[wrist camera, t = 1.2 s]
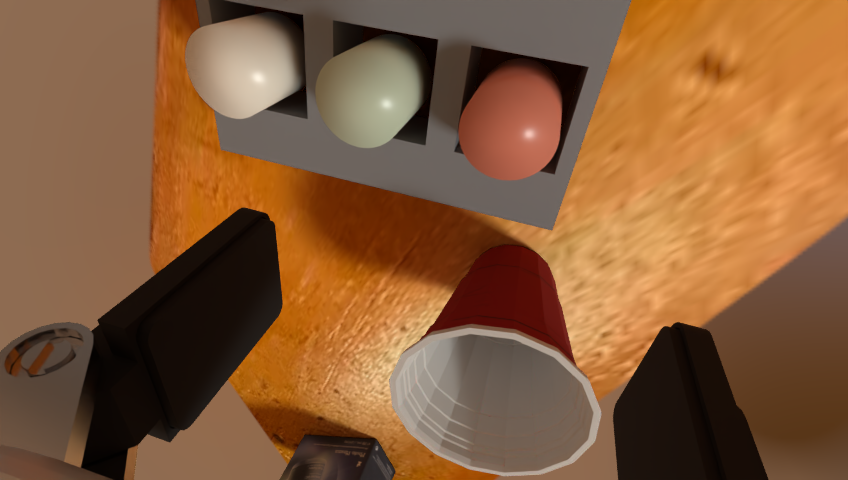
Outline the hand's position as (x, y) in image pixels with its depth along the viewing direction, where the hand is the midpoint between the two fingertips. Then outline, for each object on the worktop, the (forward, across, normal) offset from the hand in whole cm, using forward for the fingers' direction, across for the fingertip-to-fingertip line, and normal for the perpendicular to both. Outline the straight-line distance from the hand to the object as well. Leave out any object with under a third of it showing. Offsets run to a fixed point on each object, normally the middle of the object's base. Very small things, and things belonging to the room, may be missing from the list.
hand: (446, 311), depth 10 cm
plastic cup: (+19, -2, +13) cm, 23 cm away
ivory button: (+16, +14, 0) cm, 22 cm away
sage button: (+16, +7, 0) cm, 18 cm away
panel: (+19, +7, 0) cm, 20 cm away
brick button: (+16, 0, 0) cm, 16 cm away
